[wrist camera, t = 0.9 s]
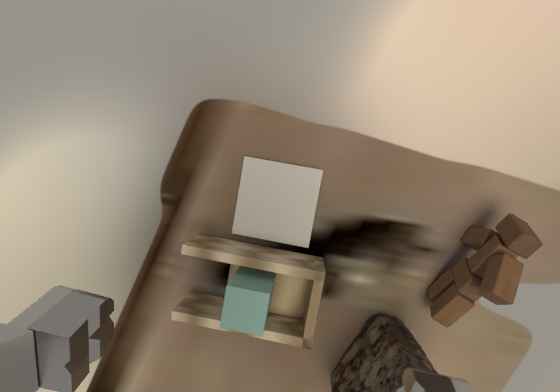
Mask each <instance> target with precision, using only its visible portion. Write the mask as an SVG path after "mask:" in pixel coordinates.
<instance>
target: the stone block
mask: <svg viewBox="0 0 560 392" xmlns="http://www.w3.org/2000/svg"><path fill="white" fill-rule="evenodd" d="M408 367H409V368H414V369H418V370H423V371H427V372H432V373H436V374H438V373H437V372H436V371H435V370H434V368H433V366H432V363H431V362H430V360H429V359H428V358H427V356H426V354H425V353H424V351H423V350H422V348H421V346H420V345H419V344H418V343H417V341H416V340H415V339H414V337H413V335H412V334H411V333H410V331H409V330H408V329H407V327H406V326H405V325H404V323H403V322H402V321H400V320H399V319H397V318H395V317H390V316H384V315H382V316H379V315H378V314H377V315H376V316H372V317H371V318H370V319H369V320H368V321H367V323H366V324H365V326H364V328H363V329H362V331H361V332H360V334H359V335H358V337H357V338H356V339H355V341H354V342H353V343H352V345H351V346H350V348H349V349H348V351H347V352H346V354H345V355H344V356H343V357H342V359H341V361H340V362H339V364H338V366H337V368H336V369H335V370H334V371H333V373H332V374H331V387H332V392H396V390H397V389H399V388H401V387H402V386H404V385H403V381H402V376H403V373H404V371H405V370H406V369H407V368H408Z"/></svg>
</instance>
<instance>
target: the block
mask: <svg viewBox="0 0 560 392" xmlns="http://www.w3.org/2000/svg"><path fill="white" fill-rule="evenodd" d="M275 279H276V273H275V272H270V271H265V270H260V269H255V268H250V267H245V266H239V268H238V269H237V271H236V272H235V274H234V275H233V277H232V278H231V280H230V281H229V282H228V284H227V285H226V291H225V297H224V303H223V309H222V315H221V321H220V328H225V329H229V330H234V331H239V332H244V333H248V334H253V335H258V336H263V333H264V329H265V325H266V321H267V318H268V314H269V310H270V306H271V301H272V296H273V290H274V285H275Z"/></svg>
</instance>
